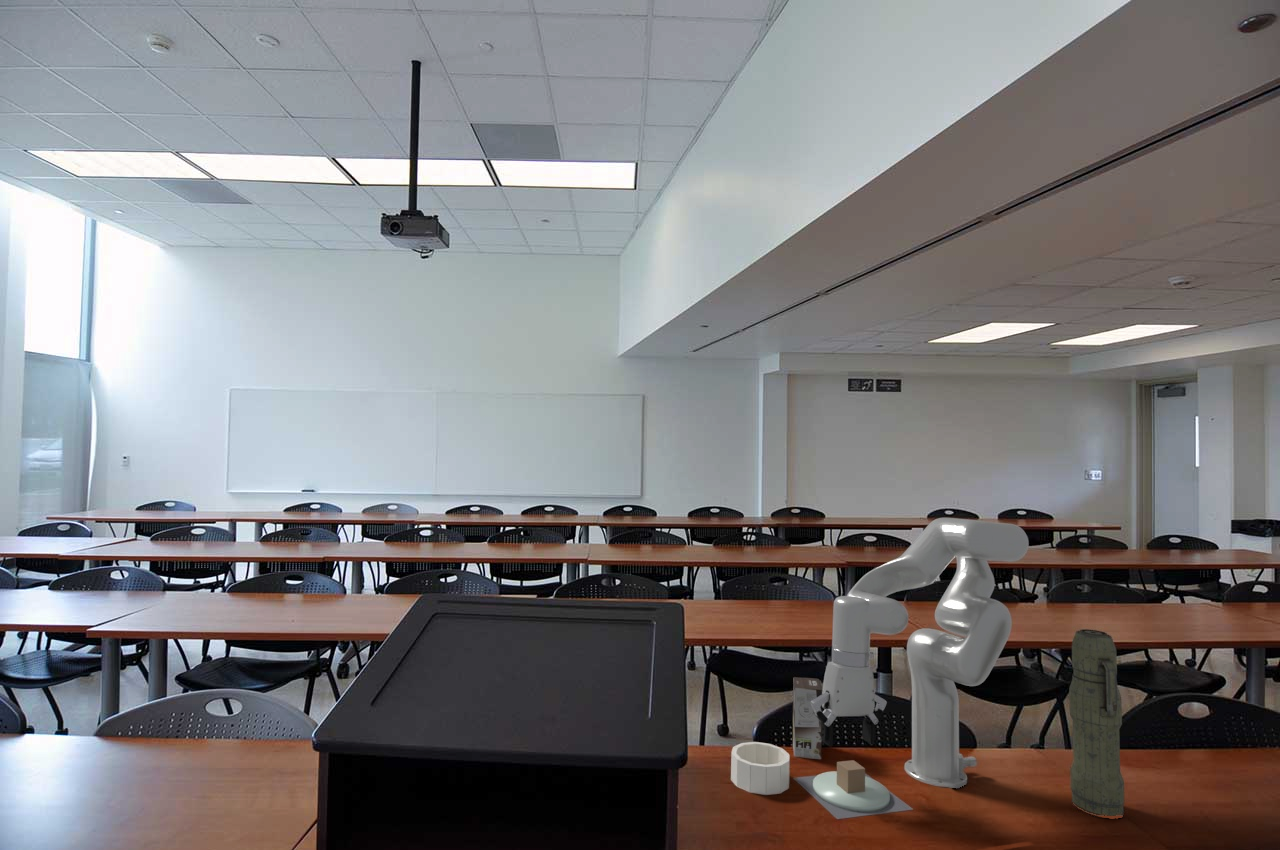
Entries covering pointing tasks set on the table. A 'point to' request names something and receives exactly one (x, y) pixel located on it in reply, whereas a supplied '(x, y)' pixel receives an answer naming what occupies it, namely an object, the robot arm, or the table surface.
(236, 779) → the table surface
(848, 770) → the lid
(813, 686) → the coffee box
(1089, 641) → the thermos
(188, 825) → the table surface
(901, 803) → the mat
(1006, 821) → the table surface
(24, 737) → the table surface
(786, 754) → the bowl
